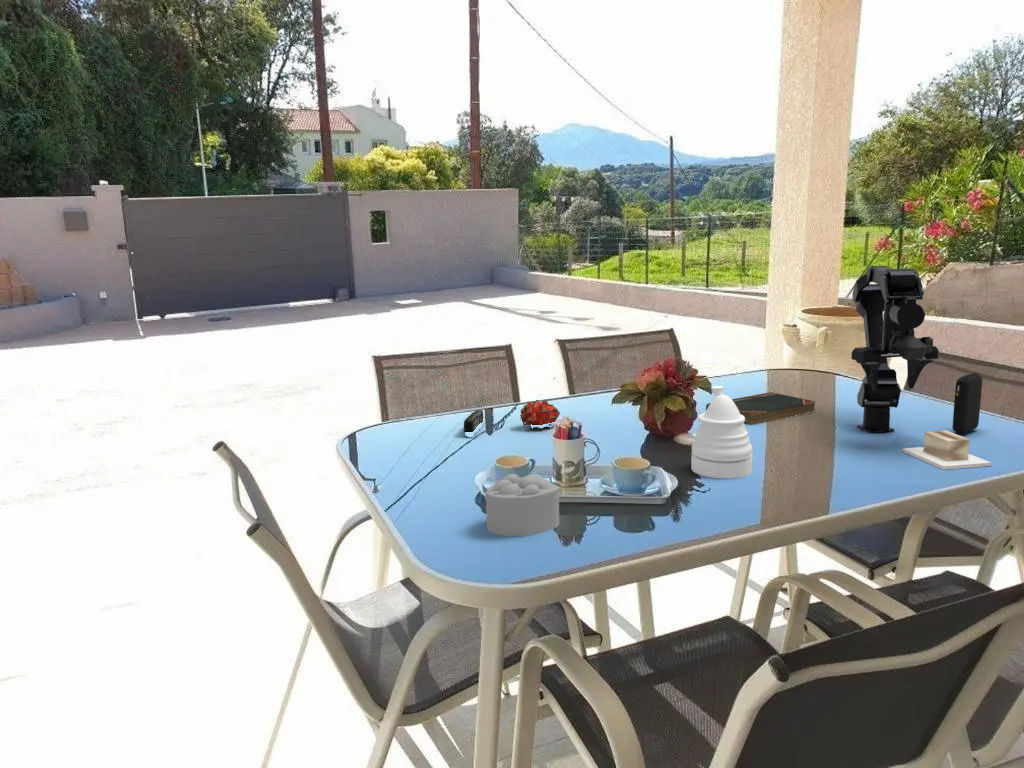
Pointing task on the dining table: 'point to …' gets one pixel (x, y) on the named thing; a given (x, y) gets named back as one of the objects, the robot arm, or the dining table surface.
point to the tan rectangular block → (946, 445)
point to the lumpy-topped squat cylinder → (522, 506)
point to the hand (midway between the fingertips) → (892, 389)
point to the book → (771, 407)
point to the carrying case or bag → (967, 403)
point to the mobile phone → (473, 421)
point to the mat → (946, 465)
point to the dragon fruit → (539, 413)
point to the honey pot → (721, 441)
